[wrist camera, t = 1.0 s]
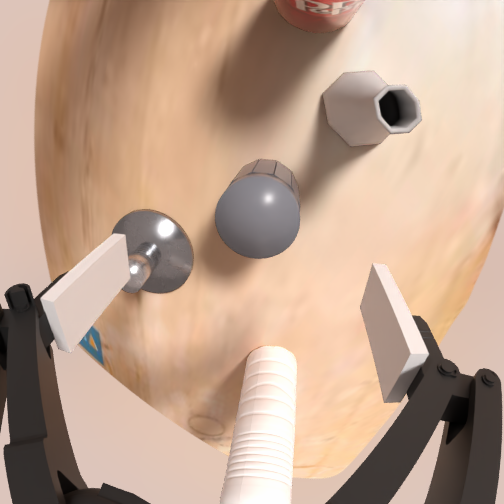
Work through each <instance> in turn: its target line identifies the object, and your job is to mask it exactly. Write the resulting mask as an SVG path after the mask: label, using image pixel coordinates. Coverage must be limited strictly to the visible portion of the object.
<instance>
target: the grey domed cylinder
mask: <svg viewBox="0 0 504 504" xmlns="http://www.w3.org/2000/svg"><path fill="white" fill-rule="evenodd" d="M299 212H300V198H299V188H298V184H297V182H296V180H295V177H294V175H293V173H292V171H291V170H290V169H288V168H287V167H286V166H284V165H283V164H281V163H280V162H278V161H277V162H276V160H266V159H260V160H259V159H258V160H256V161H254V162H252V163H249V164H247V165H245V166H244V167H243V168H242V169H241V170H240V172H239V173H238V174H237V176H236V177H235V178H234V179H233V181H232V182H231V184H230V185H229V187H228V188H227V190H226V191H225V192H224V194H223V195H222V196H221V198H220V200H219V202H218V204H217V207H216V212H215V223H216V227H217V230H218V233H219V235H220V237H221V238H222V240H223V241H224V242H225V244H226V245H227V246H228V247H229V248H231V249H232V250H233V251H235V252H236V253H238V254H240V255H243V256H246V257H249V258H257V259H261V258H269V257H272V256H275V255H278V254H280V253H281V252H283V251H284V250H286V249H287V248H288V247H289V246H290V245H291V244H292V242H293V241H294V240H295V238H296V236H297V233H298V231H299V226H300V213H299Z"/></svg>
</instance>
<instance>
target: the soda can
mask: <svg viewBox="0 0 504 504" xmlns="http://www.w3.org/2000/svg"><path fill="white" fill-rule="evenodd" d="M364 1H365V0H274V2H275V5H276V8H277V10H278V11H279V13H280V15H281V16H282V17H283V18H284V19H285V20H286V21H287V22H289V23H290V24H291V25H293V26H295V27H297V28H299V29H301V30H304V31H308V32H313V33H327V32H332V31H335V30H338V29H340V28H342V27H344V26H345V25H346V24H347V23H349V22H350V20H351V19H352V17H353V16H354V15H355V13H356V12H357V11H358V9H359V8H360V7H361V5H362V4H363V2H364Z"/></svg>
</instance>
